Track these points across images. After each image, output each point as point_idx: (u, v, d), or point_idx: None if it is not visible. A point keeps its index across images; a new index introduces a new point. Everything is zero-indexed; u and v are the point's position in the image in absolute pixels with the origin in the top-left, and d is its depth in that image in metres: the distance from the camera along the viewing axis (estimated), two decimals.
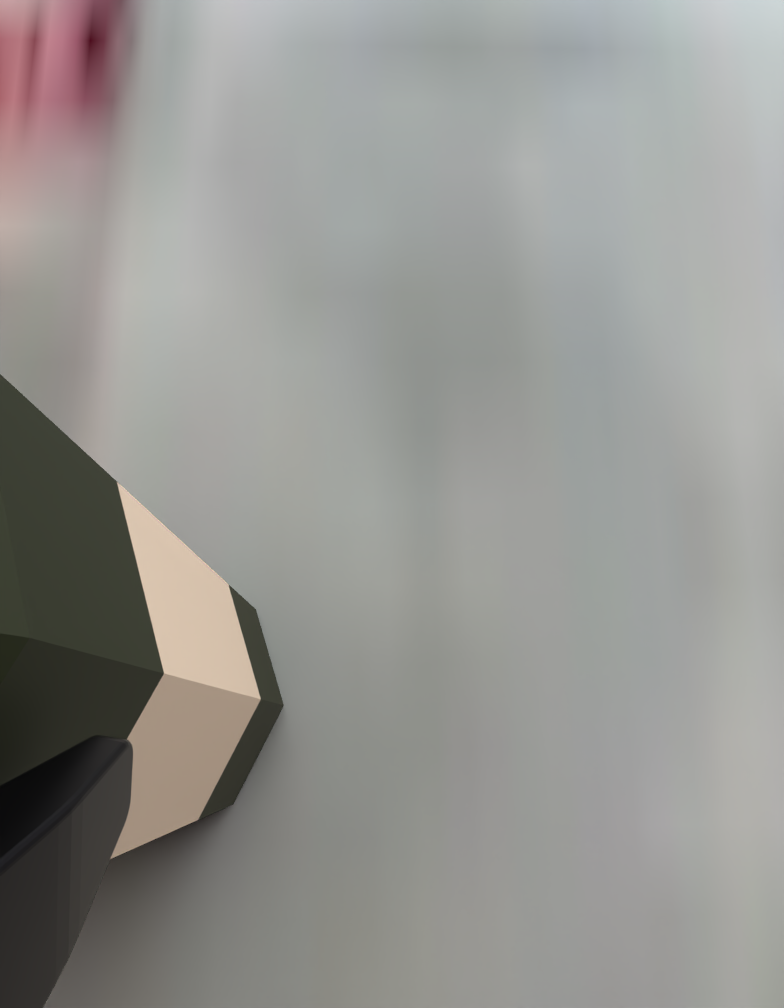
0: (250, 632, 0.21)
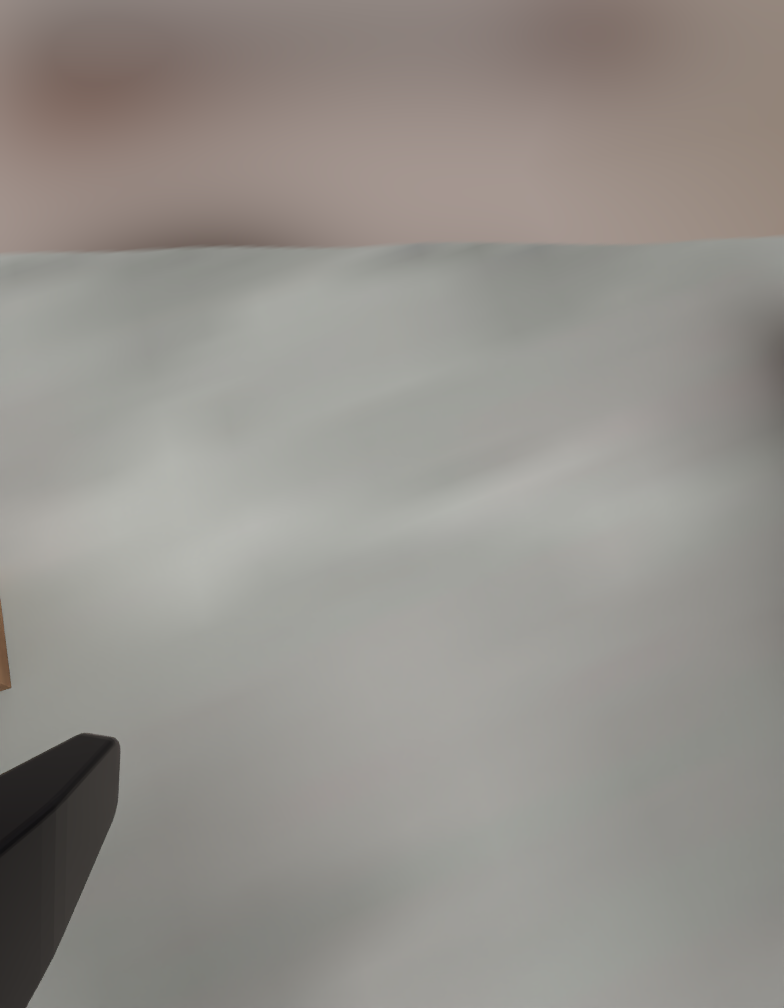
0: None
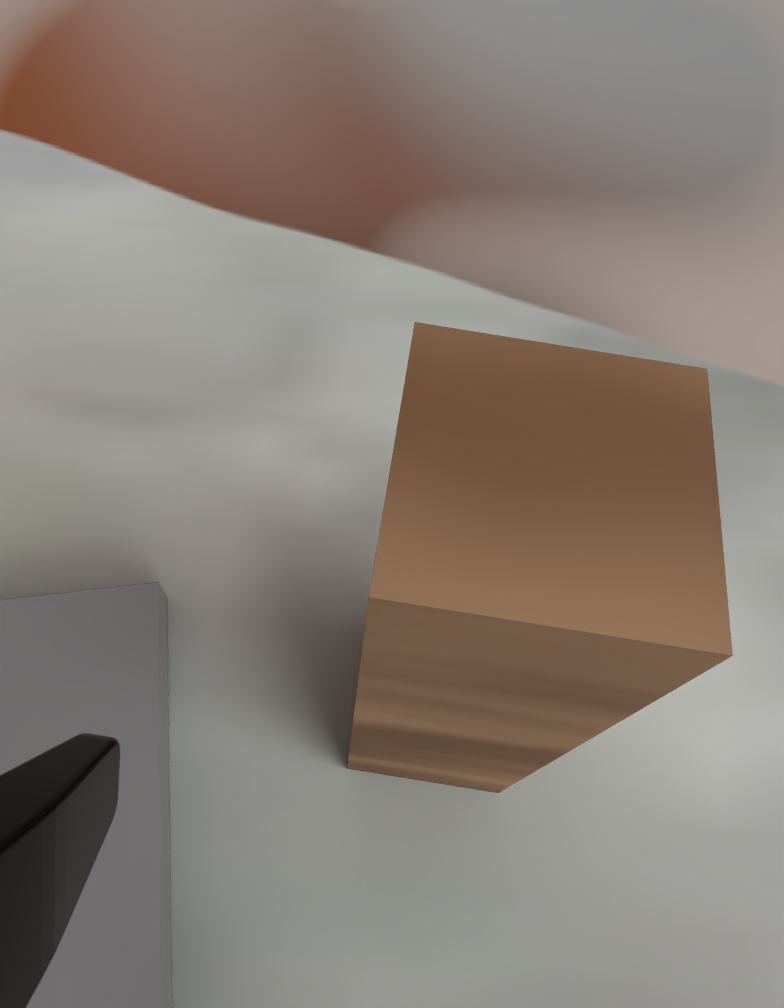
0: None
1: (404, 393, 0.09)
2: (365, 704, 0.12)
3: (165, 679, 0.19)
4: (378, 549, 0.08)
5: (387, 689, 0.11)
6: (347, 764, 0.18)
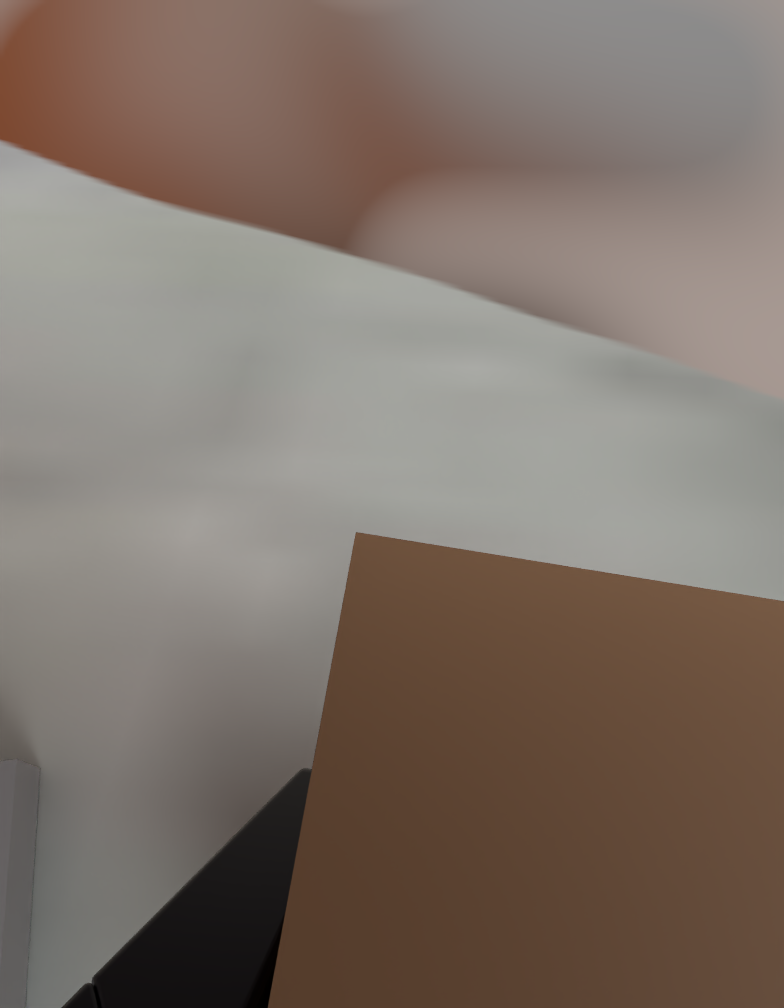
0: None
1: (307, 824, 0.03)
2: None
3: (24, 910, 0.13)
4: None
5: None
6: None
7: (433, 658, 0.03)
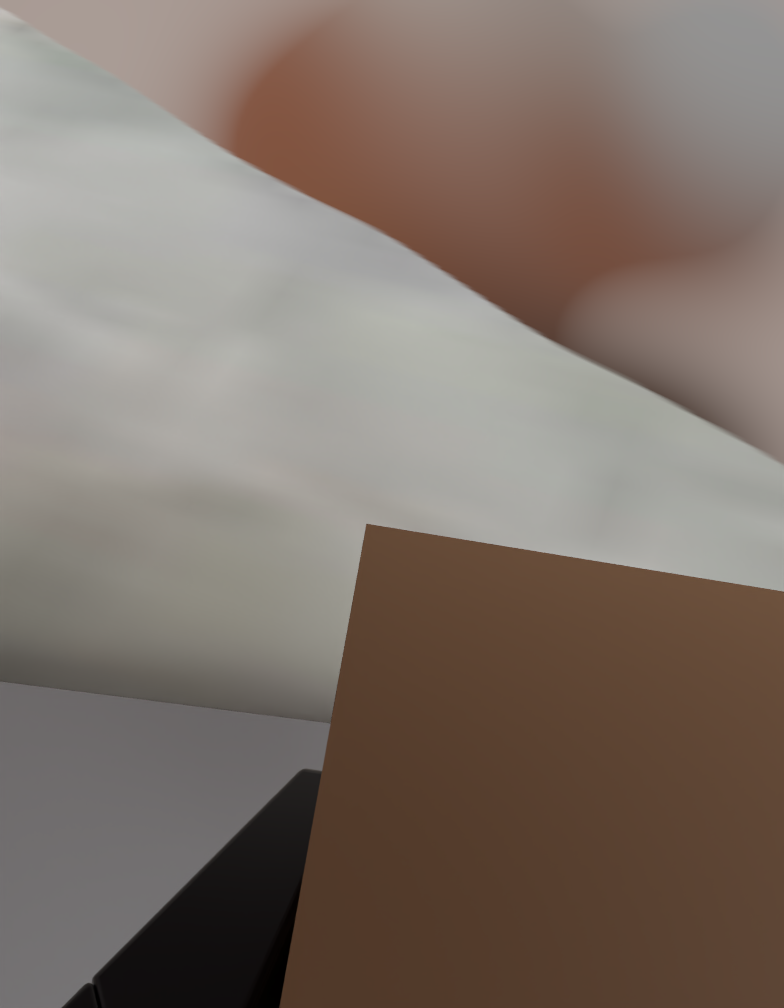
0: None
1: (320, 811, 0.03)
2: None
3: None
4: None
5: None
6: None
7: (444, 648, 0.03)
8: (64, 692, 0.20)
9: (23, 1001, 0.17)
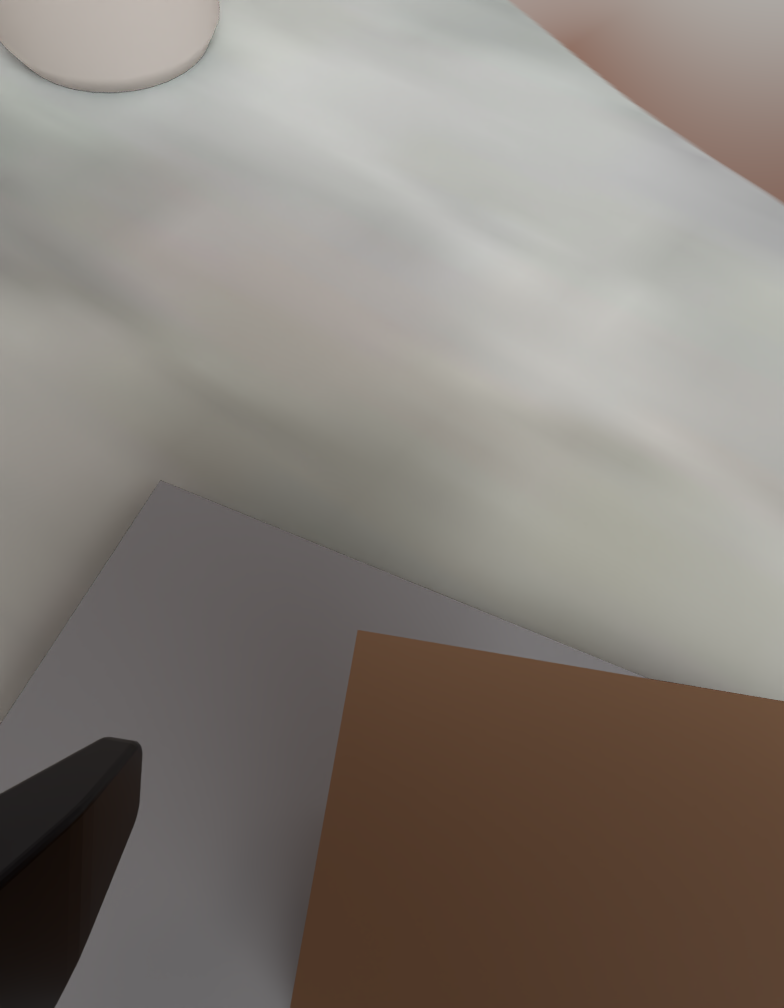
0: None
1: (324, 832, 0.04)
2: None
3: None
4: None
5: None
6: None
7: (409, 720, 0.04)
8: (453, 602, 0.18)
9: None
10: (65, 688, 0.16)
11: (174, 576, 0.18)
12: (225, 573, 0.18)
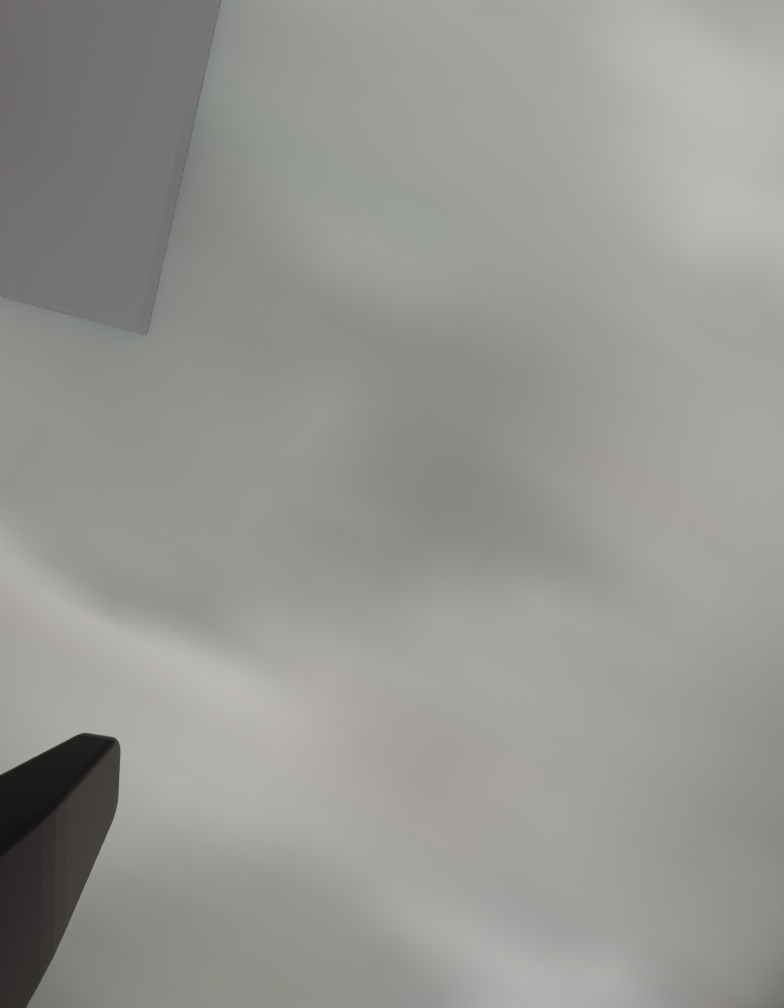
0: None
1: None
2: None
3: None
4: None
5: None
6: None
7: None
8: None
9: None
10: None
11: None
12: None
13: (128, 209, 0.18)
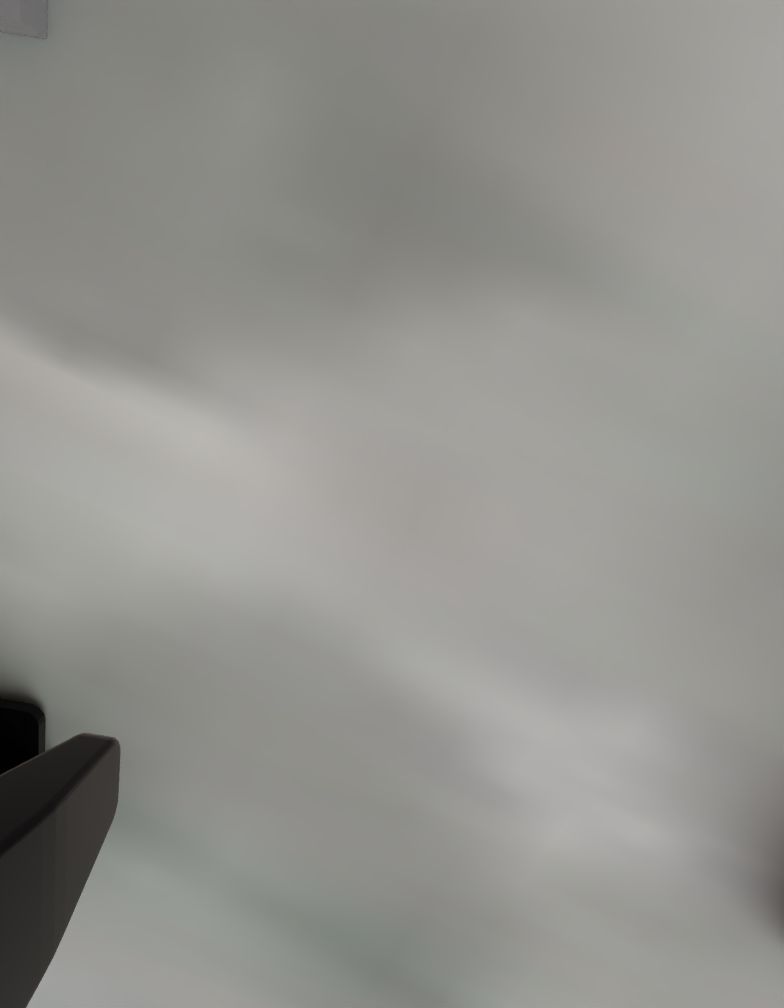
0: None
1: None
2: None
3: None
4: None
5: None
6: None
7: None
8: None
9: None
10: None
11: None
12: None
13: None
